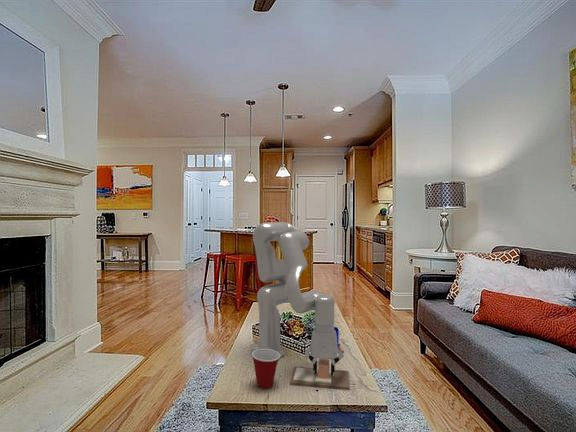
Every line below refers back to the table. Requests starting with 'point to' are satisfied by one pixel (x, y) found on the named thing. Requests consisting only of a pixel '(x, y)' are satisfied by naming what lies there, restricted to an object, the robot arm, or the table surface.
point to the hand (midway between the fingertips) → (323, 372)
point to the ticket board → (307, 378)
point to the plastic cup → (265, 366)
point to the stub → (323, 371)
